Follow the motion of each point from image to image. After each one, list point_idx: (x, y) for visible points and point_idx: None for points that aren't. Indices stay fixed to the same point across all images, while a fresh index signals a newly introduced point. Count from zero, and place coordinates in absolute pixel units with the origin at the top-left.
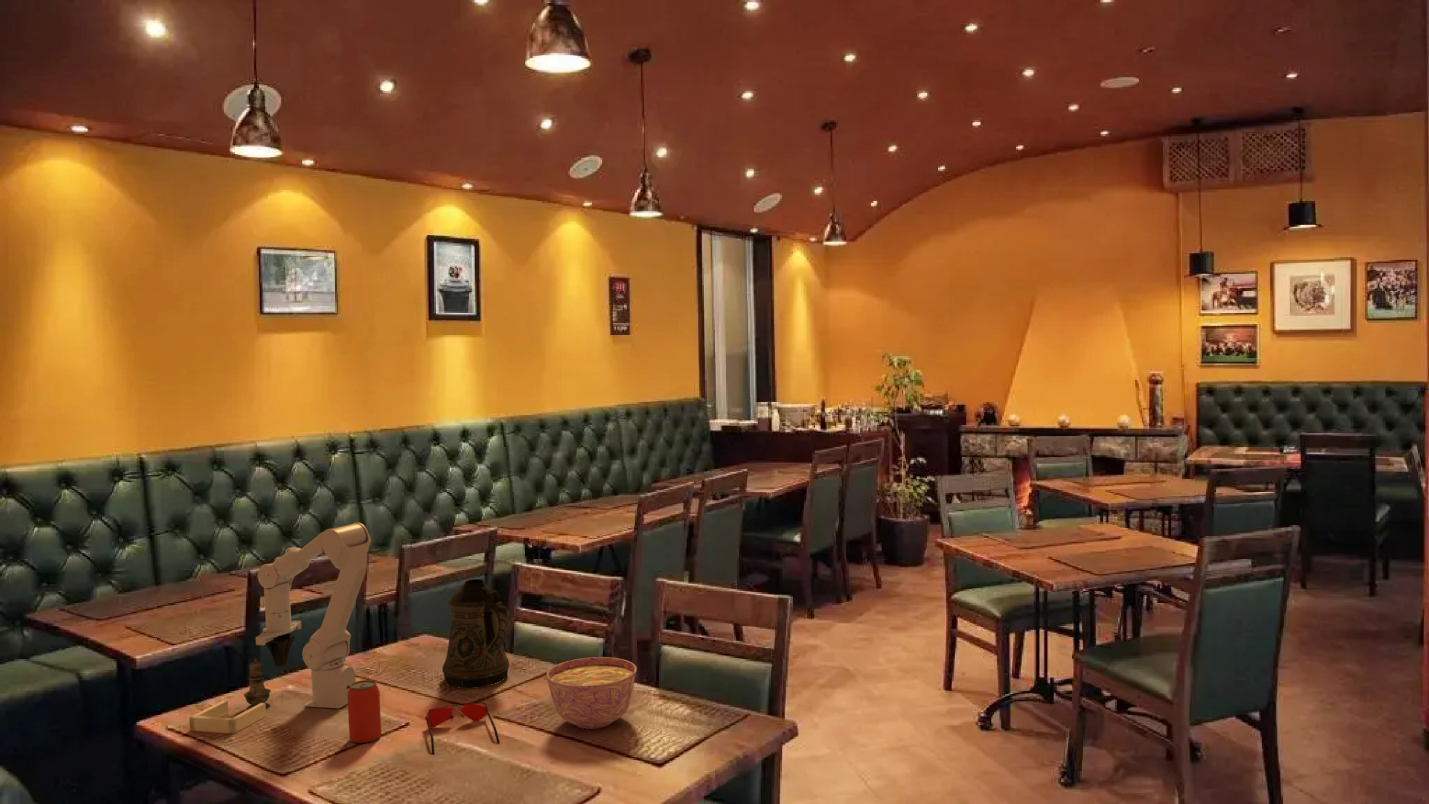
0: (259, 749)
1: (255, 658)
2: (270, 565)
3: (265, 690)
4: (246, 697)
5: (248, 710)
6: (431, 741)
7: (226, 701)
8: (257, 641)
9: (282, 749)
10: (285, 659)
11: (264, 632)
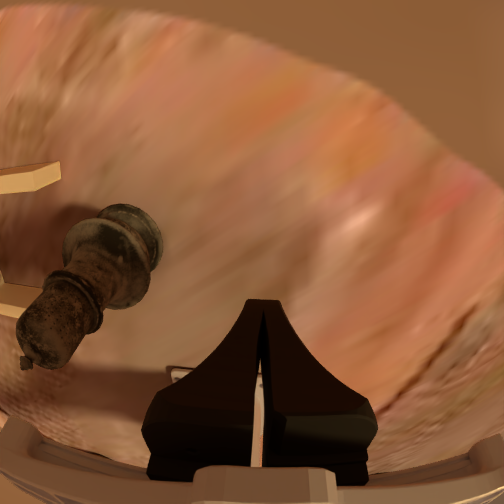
0: (3, 365)
1: (22, 369)
2: None
3: (112, 300)
4: (63, 251)
5: (21, 312)
6: None
7: (31, 190)
8: (5, 443)
9: (22, 393)
10: (261, 368)
11: (113, 502)
